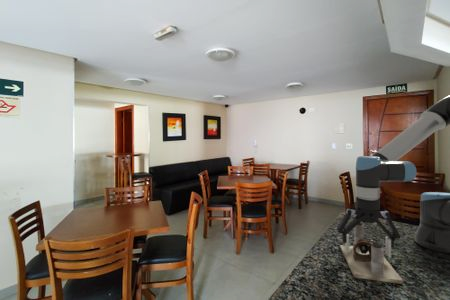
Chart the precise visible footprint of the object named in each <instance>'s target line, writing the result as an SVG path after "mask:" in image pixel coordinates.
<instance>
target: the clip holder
mask: <svg viewBox="0 0 450 300" xmlns="http://www.w3.org/2000/svg"><path fill="white" fill-rule="evenodd" d="M364 228H365V225H364V223H363V222H361V223H359V224H357V225H356V226H355V227H354V228H353V229H354V235H353V236H354V239H353V240H354V242H353V243H354V244H353V245H349V253H347V252H346V250H345V244H343V245H341V244H340V245H339V249H340V251H341V253H342V255H343V257H344V259H345V261H346V263H347V265H348V267H349V269H350V271H351V273H352V275H353V277H354V278H356V279H363V280H372V281H379V282H383V283H384V282H386V283H391V284H394V283H395V284H401V285H404V280H403V278H402V277H401V276H400V275H399V274H398V272H397V271H396V270H395V269H394V267H392V265H391V263H390V262H388V260H387V259H386V258H385V255H384V253H385V252H384V251H385V250H384V247H383V243H381V242H378V241H373V242H372V244H373V245H371V261H370V262H367V261H366V262H361V261H358V260H356V261H355V260H354V257H353V253H354V252H353V246H354V245H355V244H356V243H357V242H358V240H359V239H363V240H364V237H365V234H364V233H365V231H364ZM364 241H365V240H364ZM356 252H357V253H359V254H362V255H367V254H369V251H368V252H367V253H366V254H364V253H361V251H360V248H359V247H357V248H356ZM383 260H384V264H383Z"/></svg>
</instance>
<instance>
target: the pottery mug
mask: <svg viewBox="0 0 450 300" xmlns="http://www.w3.org/2000/svg"><path fill="white" fill-rule="evenodd" d="M371 245H373V242H370V241H368V240H367V241H366V240H363V239H359V240H358V242H357V243H356V244H355V245H354V244H353V245H352V246H353V252H354V253H353V257H354V260H355V261H356V260H358V261H361V262H366V261H367V262H370V261H371ZM357 247H359V248H360V251H361V253H364V254H366V253H367V252H368V251H369V254H367V255H362V254H359V253H357V252H356V248H357ZM383 264H384V260H383Z"/></svg>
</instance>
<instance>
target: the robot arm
mask: <svg viewBox="0 0 450 300" xmlns="http://www.w3.org/2000/svg"><path fill="white" fill-rule="evenodd" d="M419 116H420V117H419V118H418V119H417V120H416V121H414V122H413V123H412V124H410V125H409V126H408V127H406V128H405V129H404V130H403V131H402V132H400V133H399V134H398V135H396V136H395V137H394V138H393V139H392V140H390V141H389V142H388V143H386V144H385V145H384V146H382V147H381V148H379V150H377V151H376V152H374V153H373V154H372V155H368V156H367V155H360V156H358V157H357V158H356V163H355V196H356V197H355V209H350V208H349V207H348V208H347V207H346V208H345V210H346V211H345V214H344V216H343V217H342V219H341V221H340V222H339V223H338V226H337V228H336V231H337V232H338V234H342V235H341V240H342V243H344V245H345V250H346V252H347V253H349V246H350V236H349V235H350V234H349V233H350V232H351V231H352V230H353V229H354V228H355V226H356V225H357V224H359V223H361V222H363V224H366V223H367V224H368V223H369V224H374V223H375V224H377V226H378V227H379V228H381V230H382V231H383V232H384V233H385V234H386V235H387V236H385V239H384V240H385V241H384V242H385V246H384V247H385V250H384V251H385V252H384V253H385V255H386V256H387V257H388V258H392V249H393V248H394V247H395V241H397V240H396V239H401V235H400V233H399V231H398V229H397V228H396V226H395V223H394V222H393V220H392V219H391V213H390V212H389V211H387V210H386V209H385V210H383V211H381V210H380V209H381V206H380V205H381V200H380V198H381V183H382V182H384V183H386V182H390V183H391V182H401V183H404V182H412V181H413V180H415V179H416V176H417V168H416V166H415V164H414V163H413V162H411V161H406V160H404V161H403V160H400V159H401V158H403V156H405V155H406V154H407V153H409V152H410V151H412V150H413V149H414V148H416V147H417V146H418V145H419V144H421V143H422V142H423V141H425V140H426V139H427V138H429V137H430V136H431V135H432V134H434V133H435V132H436V131H441V130H443V129H445V128H446V127H447V126H449V125H450V95H448V96H446V97H444V98H442V99H440V100H439V101H437V102H435V103H433V105H431V106H429V108H427V109H425V110H424V111H423V112H422V113H421V114H420V115H419ZM354 214H355V215H356V216H355V217H353V219H352V220H351V221H350V222H349V220H350V219H351V217H352V216H353V215H354ZM419 215H420V216H419V226H418V228H417V229H416V231H415V233H414V242H415V243H417V244H418V245H419V246H421V247H423V248H426V249H429V250H432V251H436V252H439V253H444V254H450V192H440V191H439V192H438V191H435V192H434V191H433V192H432V191H429V192H427V191H426V192H423V193H421V195H420V200H419ZM381 216H382V217H383V218H384V220H385V221H386V224H388V227H389V229H390V230H391V232H392V233H391V232H390V231H389V230H388V229H387V227H385V226H384V224H383V223H382V222H381V220H379V219H380V218H381ZM348 222H349V223H348Z"/></svg>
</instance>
